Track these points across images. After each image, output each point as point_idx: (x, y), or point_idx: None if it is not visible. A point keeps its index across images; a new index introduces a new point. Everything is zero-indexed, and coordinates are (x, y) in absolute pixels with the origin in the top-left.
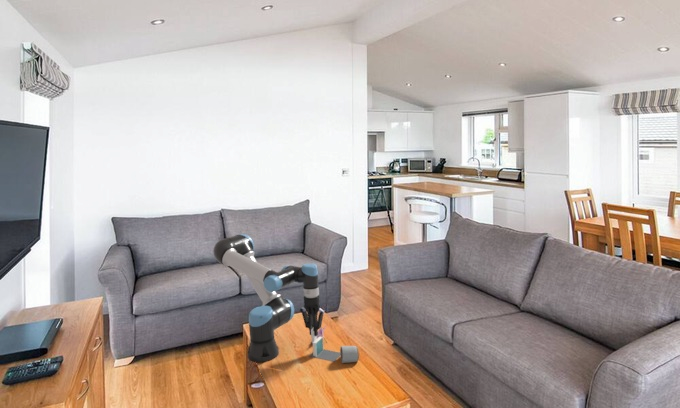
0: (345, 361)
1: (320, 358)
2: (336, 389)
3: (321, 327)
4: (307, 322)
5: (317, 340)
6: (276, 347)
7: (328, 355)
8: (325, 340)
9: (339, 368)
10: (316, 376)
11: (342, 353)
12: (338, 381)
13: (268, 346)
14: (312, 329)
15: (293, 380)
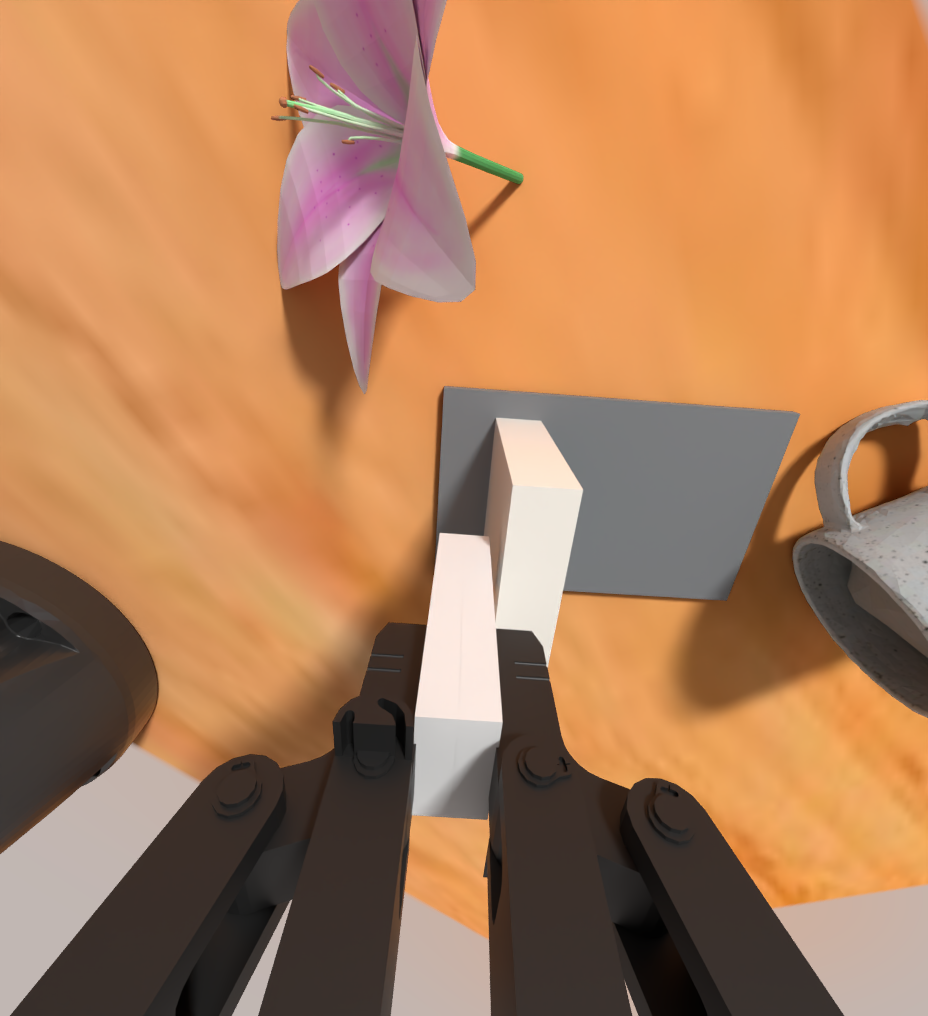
0: (872, 635)
1: (570, 585)
2: (785, 839)
3: (462, 218)
4: (147, 913)
5: (534, 620)
6: (60, 698)
7: (638, 512)
8: (494, 173)
9: (783, 660)
10: (618, 775)
11: (923, 715)
12: (791, 783)
13: (18, 831)
14: (439, 793)
15: (481, 834)
